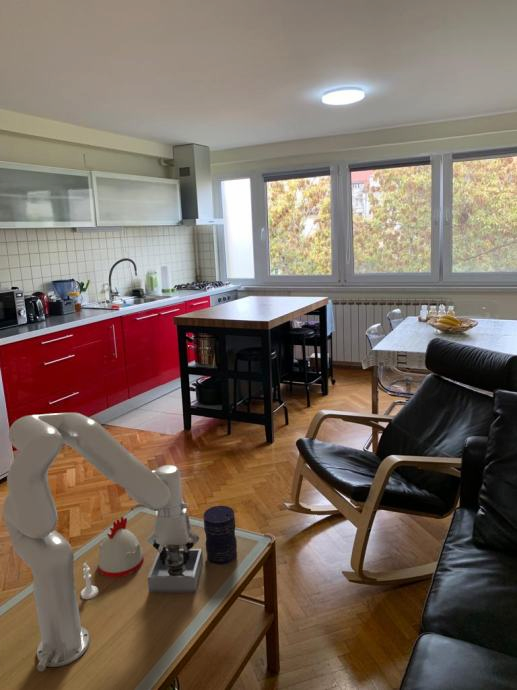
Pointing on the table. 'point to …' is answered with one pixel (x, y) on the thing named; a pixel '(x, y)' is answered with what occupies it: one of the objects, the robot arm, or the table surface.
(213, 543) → the storage jar
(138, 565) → the kitchen timer
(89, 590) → the chess piece
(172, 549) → the grey pawn
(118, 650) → the table surface
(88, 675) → the table surface
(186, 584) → the box
